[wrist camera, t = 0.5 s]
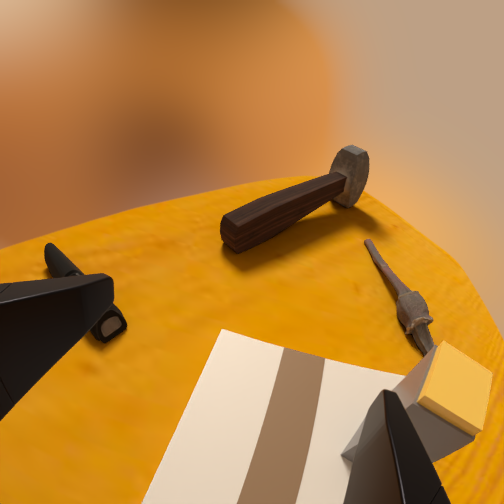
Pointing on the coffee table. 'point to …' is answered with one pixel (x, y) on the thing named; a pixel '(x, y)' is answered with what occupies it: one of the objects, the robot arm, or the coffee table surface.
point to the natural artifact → (407, 305)
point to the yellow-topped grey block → (442, 401)
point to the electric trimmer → (63, 267)
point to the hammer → (296, 201)
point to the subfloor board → (266, 428)
